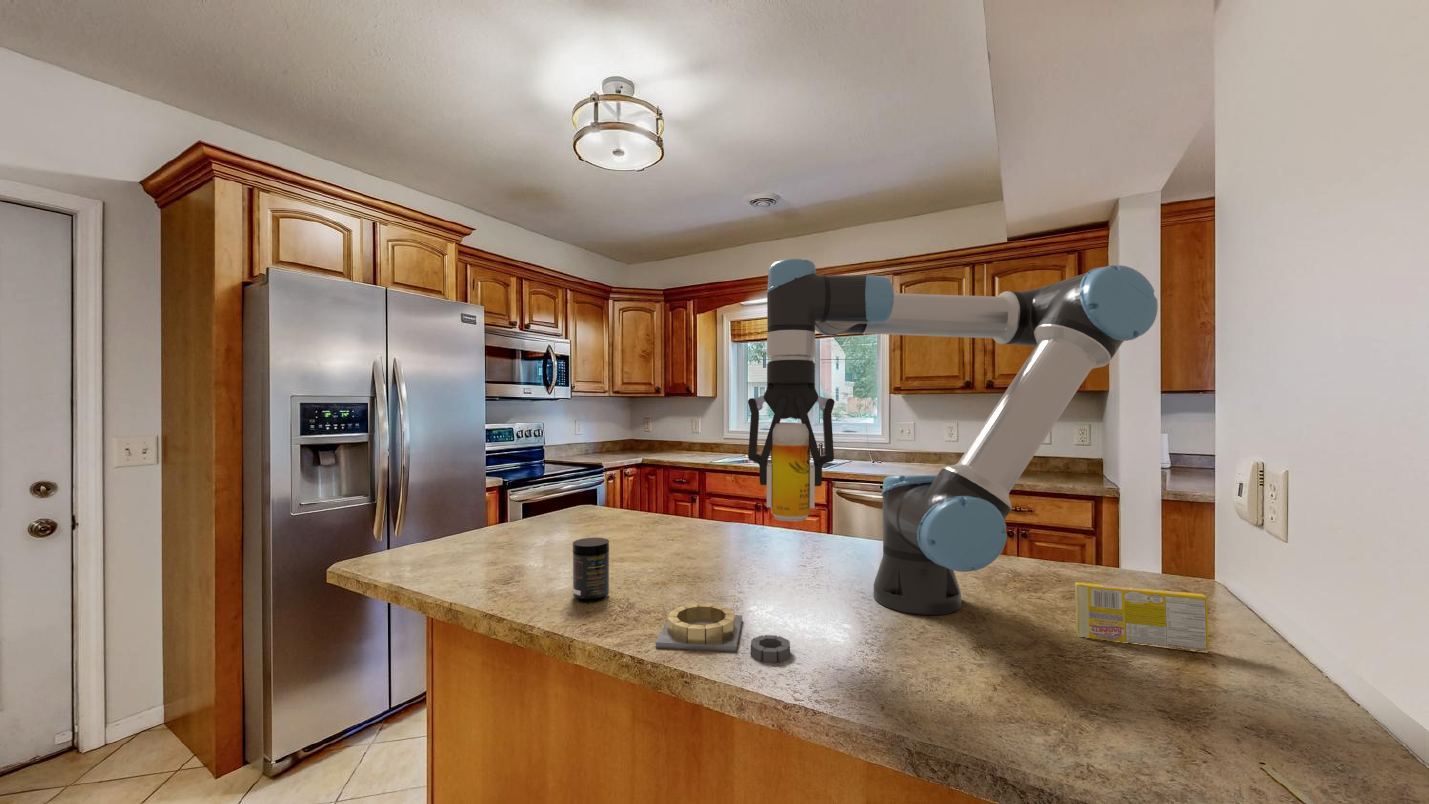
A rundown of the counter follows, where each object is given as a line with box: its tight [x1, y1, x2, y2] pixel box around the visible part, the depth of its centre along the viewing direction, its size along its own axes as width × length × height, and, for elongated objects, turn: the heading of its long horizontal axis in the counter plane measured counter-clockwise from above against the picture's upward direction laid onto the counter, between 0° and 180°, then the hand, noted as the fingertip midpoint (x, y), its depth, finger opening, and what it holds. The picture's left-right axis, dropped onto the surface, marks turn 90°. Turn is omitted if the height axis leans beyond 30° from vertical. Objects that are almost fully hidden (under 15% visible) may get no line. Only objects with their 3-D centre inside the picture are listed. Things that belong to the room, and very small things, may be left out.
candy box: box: [1074, 582, 1210, 652], centre depth 85 cm, size 16×2×8 cm, turn 68°
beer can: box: [770, 422, 811, 522], centre depth 89 cm, size 6×6×15 cm
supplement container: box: [572, 537, 610, 604], centre depth 106 cm, size 7×7×10 cm
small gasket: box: [750, 634, 791, 664], centre depth 82 cm, size 6×6×2 cm
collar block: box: [655, 603, 743, 653], centre depth 89 cm, size 12×12×3 cm
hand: (790, 505), depth 89 cm, fingers closed on beer can, 6 cm apart
